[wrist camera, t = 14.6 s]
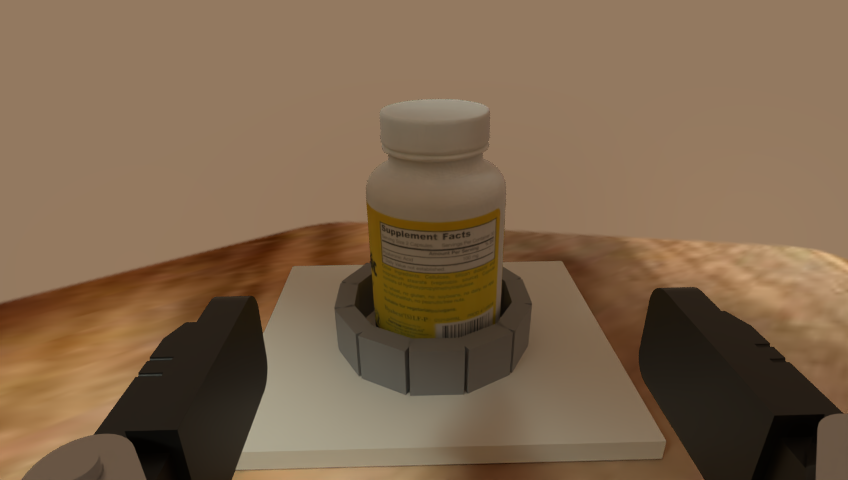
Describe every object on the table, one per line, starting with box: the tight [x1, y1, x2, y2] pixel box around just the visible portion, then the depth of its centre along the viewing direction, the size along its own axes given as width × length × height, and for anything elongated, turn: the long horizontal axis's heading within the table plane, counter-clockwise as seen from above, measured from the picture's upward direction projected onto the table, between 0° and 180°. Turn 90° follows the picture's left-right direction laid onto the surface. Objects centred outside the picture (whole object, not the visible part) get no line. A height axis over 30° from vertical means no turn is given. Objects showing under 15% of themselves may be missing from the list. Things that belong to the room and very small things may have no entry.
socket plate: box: [235, 261, 666, 470], centre depth 23 cm, size 15×13×3 cm
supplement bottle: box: [366, 99, 506, 339], centre depth 21 cm, size 5×5×10 cm
